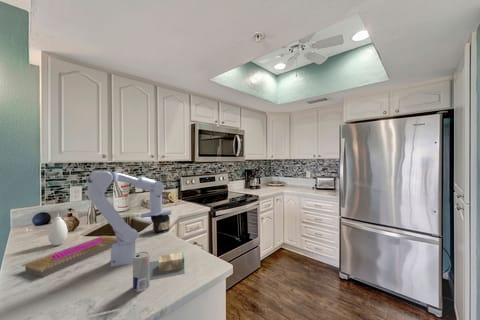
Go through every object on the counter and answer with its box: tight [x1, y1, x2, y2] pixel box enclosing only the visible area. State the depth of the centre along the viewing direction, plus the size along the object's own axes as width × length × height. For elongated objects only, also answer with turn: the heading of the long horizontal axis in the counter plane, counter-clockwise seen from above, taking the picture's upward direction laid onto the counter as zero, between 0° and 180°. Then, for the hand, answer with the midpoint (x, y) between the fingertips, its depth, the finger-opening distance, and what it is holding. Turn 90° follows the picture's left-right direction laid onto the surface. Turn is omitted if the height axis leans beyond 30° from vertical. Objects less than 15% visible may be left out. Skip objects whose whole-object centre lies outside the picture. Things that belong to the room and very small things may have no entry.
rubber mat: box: [149, 260, 186, 281], centre depth 83 cm, size 18×15×1 cm
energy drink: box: [132, 251, 151, 293], centre depth 70 cm, size 5×5×12 cm
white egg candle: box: [47, 212, 69, 246], centre depth 109 cm, size 8×8×18 cm
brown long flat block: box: [20, 235, 118, 278], centre depth 96 cm, size 35×14×6 cm, turn 160°
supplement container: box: [152, 215, 171, 234], centre depth 131 cm, size 10×10×12 cm
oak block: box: [158, 251, 185, 272], centre depth 84 cm, size 4×6×10 cm
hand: (156, 229), depth 102 cm, fingers closed
